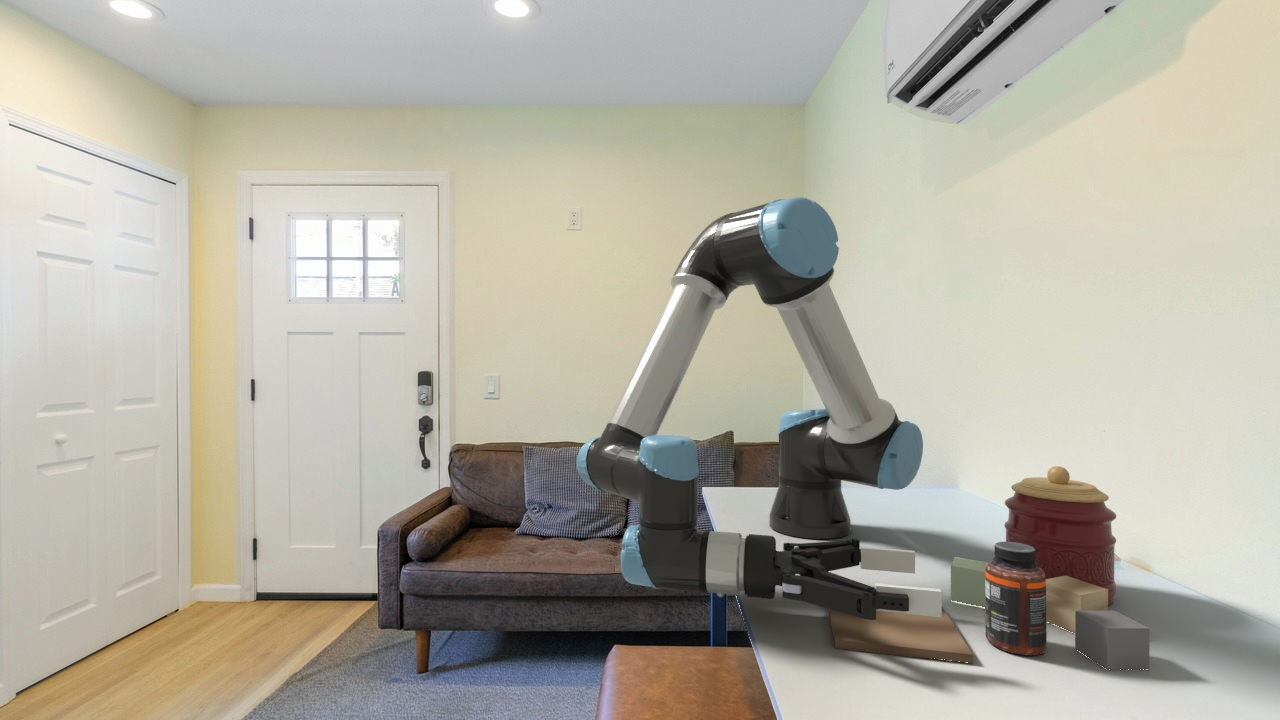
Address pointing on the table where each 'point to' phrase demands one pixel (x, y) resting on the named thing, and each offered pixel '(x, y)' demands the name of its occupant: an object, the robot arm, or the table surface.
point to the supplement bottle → (1015, 600)
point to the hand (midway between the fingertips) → (926, 580)
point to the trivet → (900, 635)
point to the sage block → (968, 581)
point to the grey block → (1112, 640)
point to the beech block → (1072, 600)
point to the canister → (1064, 527)
